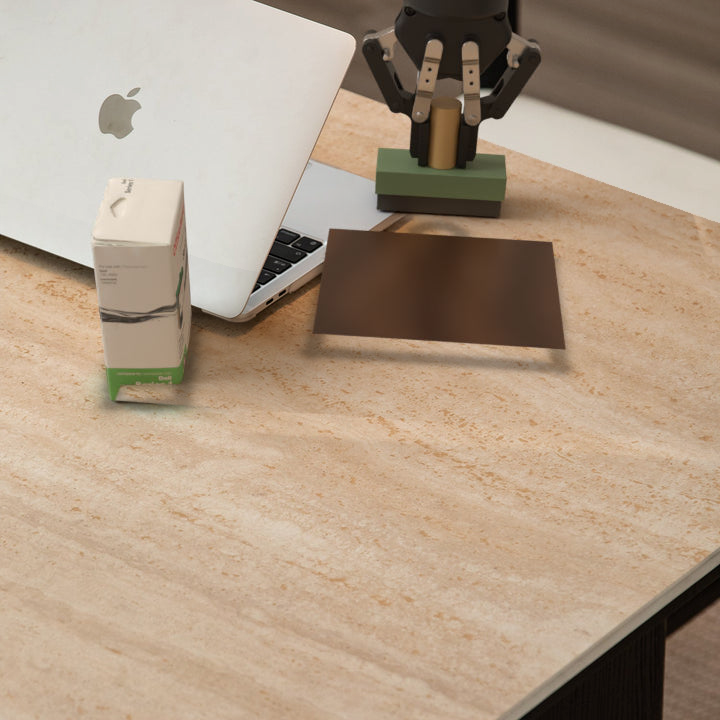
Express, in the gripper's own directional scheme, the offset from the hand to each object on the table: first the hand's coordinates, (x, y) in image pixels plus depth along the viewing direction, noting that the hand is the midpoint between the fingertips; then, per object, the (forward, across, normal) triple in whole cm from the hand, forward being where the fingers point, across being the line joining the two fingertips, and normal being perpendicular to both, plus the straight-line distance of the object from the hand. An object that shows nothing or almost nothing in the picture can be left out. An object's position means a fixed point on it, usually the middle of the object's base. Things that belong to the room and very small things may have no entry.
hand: (442, 161), depth 96 cm
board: (+5, 0, -12) cm, 13 cm away
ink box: (+5, -19, -21) cm, 29 cm away
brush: (+4, 0, 0) cm, 4 cm away
